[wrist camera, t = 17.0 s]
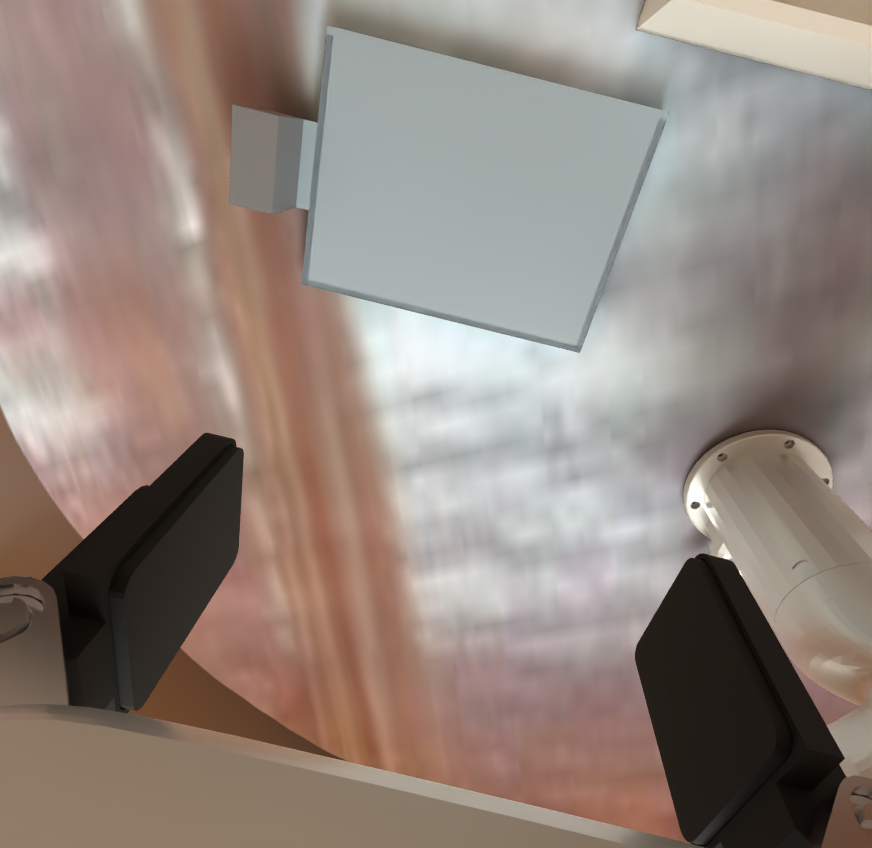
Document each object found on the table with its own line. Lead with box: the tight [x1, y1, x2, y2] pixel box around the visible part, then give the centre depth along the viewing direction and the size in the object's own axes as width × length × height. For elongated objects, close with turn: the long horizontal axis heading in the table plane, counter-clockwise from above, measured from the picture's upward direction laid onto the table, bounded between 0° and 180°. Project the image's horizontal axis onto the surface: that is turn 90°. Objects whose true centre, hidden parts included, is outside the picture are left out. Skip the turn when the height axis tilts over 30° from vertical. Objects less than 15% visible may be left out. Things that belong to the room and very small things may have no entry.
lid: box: [229, 25, 669, 353], centre depth 38 cm, size 18×28×7 cm, turn 78°
